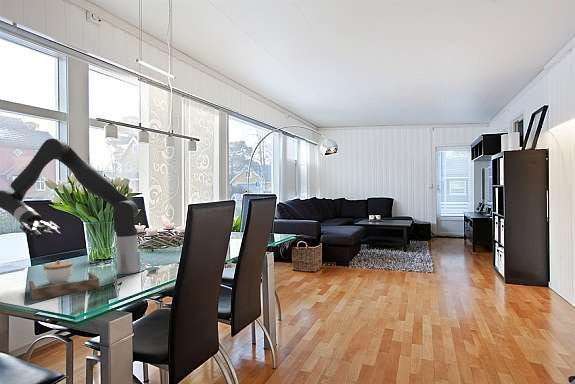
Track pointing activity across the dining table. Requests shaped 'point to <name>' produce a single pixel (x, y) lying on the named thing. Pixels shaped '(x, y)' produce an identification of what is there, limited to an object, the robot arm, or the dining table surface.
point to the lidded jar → (58, 272)
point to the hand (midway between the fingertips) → (50, 236)
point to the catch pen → (64, 287)
